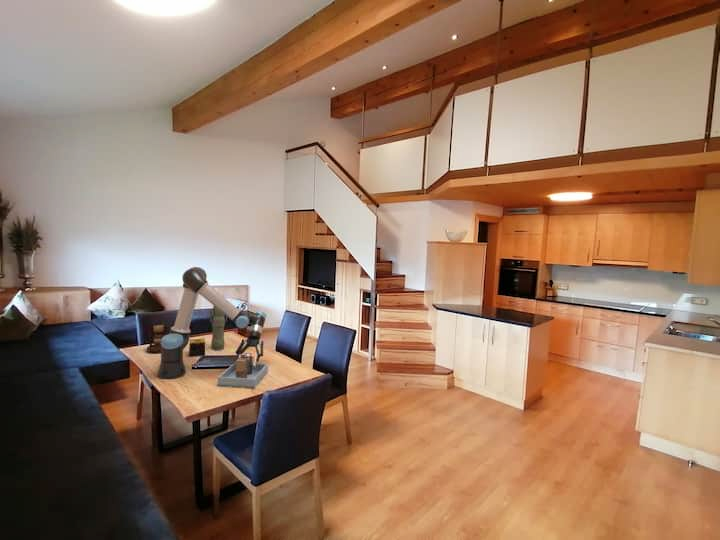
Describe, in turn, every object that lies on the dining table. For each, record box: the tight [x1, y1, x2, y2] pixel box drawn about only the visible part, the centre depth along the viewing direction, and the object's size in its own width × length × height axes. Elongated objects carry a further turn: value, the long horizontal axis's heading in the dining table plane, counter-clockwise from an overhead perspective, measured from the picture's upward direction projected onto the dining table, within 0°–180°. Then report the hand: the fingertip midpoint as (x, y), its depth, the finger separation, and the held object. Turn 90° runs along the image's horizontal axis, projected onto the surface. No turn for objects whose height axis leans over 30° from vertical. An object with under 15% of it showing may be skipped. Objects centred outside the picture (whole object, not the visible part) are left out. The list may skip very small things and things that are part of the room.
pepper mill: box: [242, 352, 253, 375], centre depth 225 cm, size 6×6×12 cm
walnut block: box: [235, 357, 248, 379], centre depth 215 cm, size 5×5×12 cm
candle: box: [188, 338, 206, 358], centre depth 258 cm, size 10×10×10 cm
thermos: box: [209, 305, 228, 351], centre depth 272 cm, size 9×12×35 cm
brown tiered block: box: [145, 322, 169, 354], centre depth 261 cm, size 15×15×20 cm
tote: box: [216, 361, 269, 389], centre depth 219 cm, size 26×21×5 cm
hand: (246, 365), depth 222 cm, fingers open, 9 cm apart
